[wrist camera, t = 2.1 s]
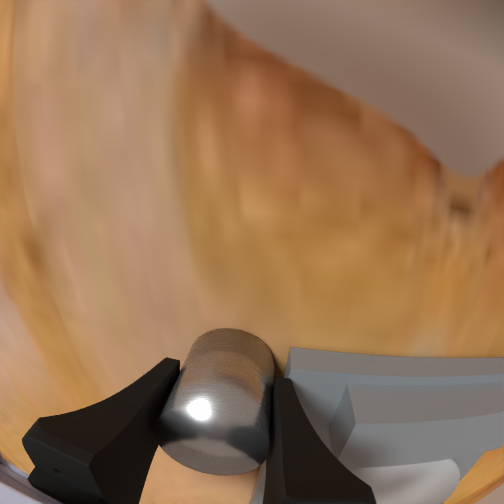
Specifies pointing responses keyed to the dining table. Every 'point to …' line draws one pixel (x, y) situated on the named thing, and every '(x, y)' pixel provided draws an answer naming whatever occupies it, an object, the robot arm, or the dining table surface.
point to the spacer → (220, 405)
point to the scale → (400, 418)
